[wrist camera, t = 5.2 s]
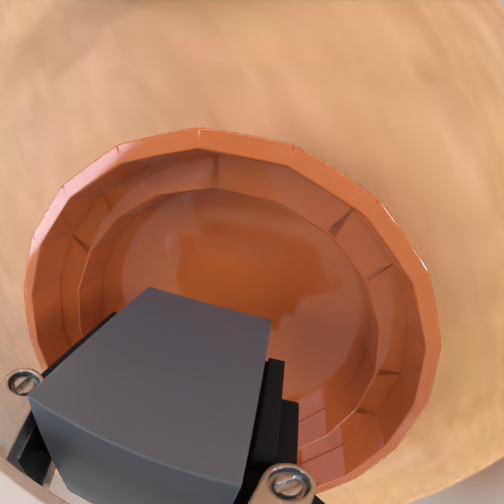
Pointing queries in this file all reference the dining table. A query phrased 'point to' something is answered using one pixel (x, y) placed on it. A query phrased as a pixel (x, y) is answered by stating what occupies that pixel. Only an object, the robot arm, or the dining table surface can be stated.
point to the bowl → (252, 277)
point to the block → (156, 403)
